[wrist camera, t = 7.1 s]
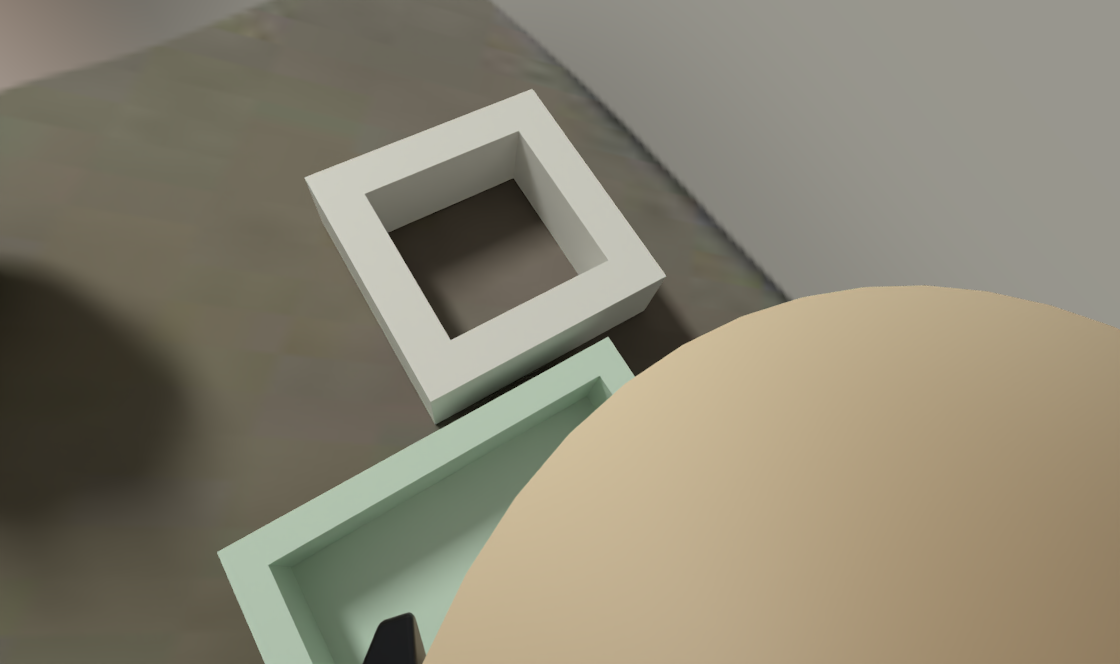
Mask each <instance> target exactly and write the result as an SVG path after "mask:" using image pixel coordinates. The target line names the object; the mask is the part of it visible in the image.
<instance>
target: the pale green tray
mask: <svg viewBox="0 0 1120 664" xmlns="http://www.w3.org/2000/svg"><path fill="white" fill-rule="evenodd" d="M634 377H635V376H634V375H633V373H632V372H631V370H630V369H629V367H628V366H627V364H626V363H625V361H624V360H623V358H622V357H621V355H620V354H619V352H618V351H617V349H616V348H615V346H614V345H613V343H612V342H611V340H610V339H609V337H607V338H605V339H603V340H601V341H599V342H598V343H596V344H594V345H592V346H590V347H588V348H587V349H585V350H583V351H581V352H579V353H578V354H576V355H574V356H572V357H570V358H569V359H567V360H565V361H563V362H561V363H559V364H558V365H556V366H554V367H552V368H550V369H549V370H547V371H545V372H543V373H541V374H539V375H538V376H536V377H534V378H532V379H530V380H529V381H527V382H525V383H523V384H521V385H520V386H518V387H516V388H514V389H512V390H510V391H509V392H507V393H505V394H503V395H501V396H500V397H498V398H496V399H494V400H492V401H490V402H489V403H487V404H485V405H483V406H481V407H480V408H478V409H476V410H474V411H472V412H471V413H469V414H467V415H465V416H463V417H461V418H460V419H458V420H456V421H454V422H452V423H451V424H449V425H447V426H445V427H443V428H442V429H440V430H438V431H436V432H434V433H432V434H431V435H429V436H427V437H425V438H423V439H422V440H420V441H418V442H416V443H414V444H412V445H411V446H409V447H407V448H405V449H403V450H402V451H400V452H398V453H396V454H394V455H393V456H391V457H389V458H387V459H385V460H383V461H382V462H380V463H378V464H376V465H374V466H373V467H371V468H369V469H367V470H365V471H363V472H362V473H360V474H358V475H356V476H354V477H353V478H351V479H349V480H347V481H345V482H344V483H342V484H340V485H338V486H336V487H334V488H333V489H331V490H329V491H327V492H325V493H324V494H322V495H320V496H318V497H316V498H314V499H313V500H311V501H309V502H307V503H305V504H304V505H302V506H300V507H298V508H296V509H295V510H293V511H291V512H289V513H287V514H285V515H284V516H282V517H280V518H278V519H276V520H275V521H273V522H271V523H269V524H267V525H265V526H264V527H262V528H260V529H258V530H256V531H255V532H253V533H251V534H249V535H247V536H246V537H244V538H242V539H240V540H238V541H236V542H235V543H233V544H231V545H229V546H227V547H226V548H224V549H222V550H220V551H218V552H217V553H218V556H219V558H220V560H221V563H222V565H223V567H224V570H225V572H226V574H227V577H228V579H229V581H230V584H231V586H232V588H233V591H234V593H235V595H236V598H237V600H238V602H239V604H240V607H241V609H242V611H243V614H244V616H245V618H246V621H247V623H248V625H249V628H250V630H251V632H252V635H253V637H254V639H255V642H256V644H257V646H258V649H259V651H260V653H261V656H262V658H263V660H264V663H265V664H362V663H363V661H364V659H365V656H366V654H367V651H368V649H369V646H370V644H371V641H372V639H373V637H374V634H375V632H376V629H377V627H378V625H379V624H380V623H381V622H382V621H383V620H385V619H389V618H392V617H395V616H398V615H401V614H404V613H408V612H410V613H412V614H413V615H414V616H415V618H416V622H417V625H418V628H419V632H420V635H421V639H422V642H423V646H424V649H425V653H426V655H427V653H428V651H429V649H430V647H431V645H432V643H433V641H434V639H435V637H436V635H437V633H438V630H439V628H440V626H441V624H442V622H443V620H444V618H445V616H446V614H447V612H448V610H449V608H450V606H451V604H452V602H453V600H454V598H455V595H456V593H457V591H458V589H459V587H460V585H461V583H462V581H463V579H464V577H465V575H466V573H467V572H468V570H469V568H470V567H471V565H472V564H473V562H474V561H475V559H476V558H477V556H478V555H479V553H480V551H481V550H482V548H483V547H484V545H485V544H486V542H487V541H488V539H489V537H490V536H491V534H492V533H493V531H494V530H495V528H496V527H497V525H498V524H499V522H500V520H501V519H502V517H503V516H504V514H505V513H506V511H507V510H508V508H509V507H510V505H511V503H512V502H513V500H514V499H515V497H516V496H517V495H518V494H519V492H520V491H521V490H522V489H523V488H524V487H525V485H526V484H527V483H528V482H529V481H530V479H531V478H532V477H533V476H534V475H535V474H536V472H537V471H538V470H539V469H540V468H541V467H542V465H543V464H544V463H545V462H546V461H547V459H548V458H549V457H550V456H551V455H552V454H553V452H554V451H555V450H556V449H557V448H558V446H559V445H560V444H561V443H562V442H563V441H564V439H565V438H566V437H567V436H568V435H569V434H570V433H571V432H572V431H573V430H574V429H575V428H576V427H577V426H579V425H580V424H581V423H582V422H583V421H584V420H585V419H586V418H587V417H589V416H590V415H591V414H592V413H593V412H594V411H595V410H596V409H597V408H599V407H600V406H601V405H602V404H603V403H604V402H605V401H606V400H607V399H609V398H610V397H611V396H612V395H613V394H614V393H615V392H616V391H617V390H619V389H620V388H621V387H622V386H623V385H624V384H625V383H627V382H628V381H630V380H631V379H633V378H634Z"/></svg>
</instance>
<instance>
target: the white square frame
mask: <svg viewBox="0 0 1120 664" xmlns="http://www.w3.org/2000/svg"><path fill="white" fill-rule="evenodd" d="M513 178H514V180H515V181H516V183H517V184H518V186H519V187H520V189H521V190H522V192H523V193H524V195H525V196H526V198H527V199H528V201H529V202H530V204H531V205H532V207H533V208H534V210H535V211H536V212H537V214H538V215H539V217H540V218H541V220H542V221H543V223H544V224H545V226H546V227H547V229H548V230H549V232H550V233H551V235H552V236H553V238H554V239H555V241H556V242H557V244H558V245H559V247H560V248H561V250H562V251H563V253H564V254H565V256H566V257H567V259H568V260H569V262H570V263H571V265H572V266H573V268H574V269H575V271H576V272H577V273H578V276H576V277H574V278H573V279H571V280H569V281H567V282H565V283H563V284H561V285H559V286H557V287H555V288H553V289H551V290H549V291H547V292H545V293H543V294H541V295H539V296H537V297H535V298H533V299H531V300H529V301H527V302H525V303H523V304H521V305H519V306H517V307H515V308H513V309H511V310H509V311H507V312H505V313H503V314H501V315H499V316H497V317H496V318H494V319H492V320H490V321H488V322H486V323H484V324H482V325H480V326H478V327H476V328H474V329H472V330H470V331H468V332H466V333H464V334H462V335H460V336H458V337H456V338H454V339H452V340H450V338H449V337H448V335H447V333H446V332H445V330H444V328H443V326H442V325H441V323H440V321H439V320H438V318H437V316H436V315H435V313H434V311H433V309H432V308H431V306H430V304H429V303H428V301H427V299H426V298H425V296H424V294H423V292H422V291H421V289H420V287H419V286H418V284H417V282H416V281H415V279H414V277H413V275H412V274H411V272H410V270H409V269H408V267H407V265H406V264H405V262H404V260H403V258H402V257H401V255H400V253H399V252H398V250H397V248H396V247H395V245H394V243H393V241H392V240H391V238H390V236H389V235H388V232H391V231H393V230H395V229H398V228H400V227H402V226H404V225H407V224H409V223H411V222H414V221H416V220H418V219H421V218H423V217H425V216H428V215H430V214H432V213H434V212H437V211H439V210H441V209H444V208H446V207H448V206H451V205H453V204H455V203H457V202H460V201H462V200H464V199H467V198H469V197H471V196H474V195H476V194H478V193H480V192H483V191H485V190H487V189H490V188H492V187H494V186H497V185H499V184H501V183H503V182H506V181H508V180H510V179H513ZM305 180H306V183H307V185H308V188H309V190H310V193H311V195H312V198H313V200H314V203H315V205H316V208H317V210H318V213H319V215H320V218H321V220H322V223H323V225H324V226H325V228H326V230H327V232H328V234H329V235H330V237H331V239H332V241H333V243H334V244H335V246H336V248H337V250H338V252H339V253H340V255H341V257H342V259H343V260H344V262H345V264H346V266H347V268H348V269H349V271H350V273H351V275H352V277H353V278H354V280H355V282H356V284H357V286H358V287H359V289H360V291H361V293H362V295H363V296H364V298H365V300H366V302H367V303H368V305H369V307H370V309H371V311H372V312H373V314H374V316H375V318H376V320H377V321H378V323H379V325H380V327H381V329H382V330H383V332H384V334H385V336H386V338H387V339H388V341H389V343H390V345H391V346H392V348H393V350H394V352H395V354H396V355H397V357H398V359H399V361H400V363H401V364H402V366H403V368H404V370H405V372H406V373H407V375H408V377H409V379H410V381H411V382H412V384H413V386H414V388H415V389H416V391H417V393H418V395H419V397H420V398H421V400H422V402H423V404H424V406H425V407H426V409H427V411H428V413H429V415H430V416H431V418H432V420H433V422H434V424H435V425H436V424H438V423H439V422H441V421H443V420H445V419H447V418H449V417H450V416H452V415H454V414H456V413H458V412H460V411H461V410H463V409H465V408H467V407H469V406H471V405H472V404H474V403H476V402H478V401H480V400H482V399H483V398H485V397H487V396H489V395H491V394H492V393H494V392H496V391H498V390H500V389H502V388H503V387H505V386H507V385H509V384H511V383H513V382H514V381H516V380H518V379H520V378H522V377H524V376H525V375H527V374H529V373H531V372H533V371H535V370H536V369H538V368H540V367H542V366H544V365H545V364H547V363H549V362H551V361H553V360H555V359H556V358H558V357H560V356H562V355H564V354H566V353H567V352H569V351H571V350H573V349H575V348H577V347H578V346H580V345H582V344H584V343H586V342H587V341H589V340H591V339H593V338H595V337H597V336H598V335H600V334H602V333H604V332H606V331H608V330H609V329H611V328H613V327H615V326H617V325H619V324H620V323H622V322H624V321H626V320H628V319H630V318H631V317H633V316H635V315H637V314H639V313H640V312H642V311H644V310H645V309H646V307H647V306H648V304H649V302H650V301H651V299H652V298H653V296H654V295H655V293H656V291H657V290H658V288H659V287H660V285H661V284H662V282H663V281H664V279H665V277H666V275H665V274H664V272H663V271H662V269H661V268H660V267H659V265H658V264H657V262H656V261H655V260H654V258H653V257H652V255H651V254H650V253H649V251H648V250H647V248H646V247H645V246H644V244H643V243H642V241H641V240H640V239H639V237H638V236H637V234H636V233H635V232H634V230H633V229H632V227H631V226H630V225H629V223H628V222H627V221H626V219H625V218H624V216H623V215H622V214H621V212H620V211H619V209H618V208H617V207H616V205H615V204H614V202H613V201H612V200H611V198H610V197H609V195H608V194H607V193H606V191H605V190H604V188H603V187H602V186H601V184H600V183H599V181H598V180H597V179H596V177H595V176H594V174H593V173H592V172H591V170H590V169H589V167H588V166H587V165H586V163H585V162H584V160H583V159H582V158H581V156H580V155H579V153H578V152H577V151H576V149H575V148H574V146H573V145H572V144H571V142H570V141H569V139H568V138H567V137H566V135H565V134H564V132H563V131H562V130H561V128H560V127H559V126H558V124H557V123H556V121H555V120H554V119H553V117H552V116H551V114H550V113H549V112H548V110H547V109H546V107H545V106H544V105H543V103H542V102H541V100H540V99H539V98H538V96H537V95H536V93H535V92H534V91H533V89H531V90H528V91H526V92H523V93H520V94H518V95H515V96H513V97H510V98H508V99H505V100H502V101H500V102H497V103H495V104H492V105H490V106H487V107H484V108H482V109H479V110H477V111H474V112H472V113H469V114H467V115H464V116H461V117H459V118H456V119H454V120H451V121H449V122H446V123H443V124H441V125H438V126H436V127H433V128H431V129H428V130H425V131H423V132H420V133H418V134H415V135H413V136H410V137H407V138H405V139H402V140H400V141H397V142H395V143H392V144H389V145H387V146H384V147H382V148H379V149H377V150H374V151H371V152H369V153H366V154H364V155H361V156H359V157H356V158H353V159H351V160H348V161H346V162H343V163H341V164H338V165H335V166H333V167H330V168H328V169H325V170H323V171H320V172H317V173H315V174H312V175H310V176H307V177H305Z"/></svg>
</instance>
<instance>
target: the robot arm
mask: <svg viewBox="0 0 1120 664" xmlns="http://www.w3.org/2000/svg"><path fill="white" fill-rule="evenodd" d="M425 657H426V653H425V649H424V646H423V642H422V639H421V635H420V632H419V628H418V625H417V622H416V618H415V616H414V615H413V614H412V613H410V612H408V613H404V614H401V615H398V616H395V617H392V618H389V619H385V620H383V621H382V622H381V623H380V624H379V625H378V627H377V629H376V632H375V634H374V637H373V639H372V641H371V644H370V646H369V649H368V651H367V654H366V656H365V659H364V661H363V663H362V664H422V663H423V661H424V659H425Z"/></svg>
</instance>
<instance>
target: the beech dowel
mask: <svg viewBox="0 0 1120 664" xmlns="http://www.w3.org/2000/svg"><path fill="white" fill-rule="evenodd" d="M422 664H1120V330H1119V329H1117V328H1115V327H1113V326H1110V325H1107V324H1104V323H1101V322H1098V321H1095V320H1092V319H1089V318H1086V317H1083V316H1080V315H1077V314H1074V313H1071V312H1068V311H1065V310H1062V309H1059V308H1057V307H1054V306H1051V305H1047V304H1042V303H1037V302H1032V301H1028V300H1024V299H1019V298H1015V297H1010V296H1006V295H1000V294H997V293H992V292H987V291H976V290H967V289H957V288H946V287H936V286H926V285H923V286H888V287H862V288H856V289H850V290H844V291H838V292H832V293H826V294H820V295H814V296H808V297H803V298H799V299H796V300H793V301H789V302H786V303H783V304H780V305H777V306H773V307H770V308H767V309H764V310H761V311H757V312H754V313H751V314H748V315H745V316H742V317H740V318H738V319H736V320H733V321H731V322H729V323H727V324H725V325H723V326H721V327H719V328H717V329H715V330H713V331H711V332H708V333H706V334H704V335H702V336H700V337H698V338H696V339H694V340H692V341H690V342H688V343H686V344H684V345H682V346H680V347H679V348H677V349H676V350H674V351H673V352H671V353H670V354H668V355H667V356H665V357H664V358H663V359H661V360H660V361H658V362H657V363H655V364H654V365H652V366H651V367H649V368H648V369H646V370H645V371H643V372H642V373H640V374H639V375H637V376H636V377H634V378H633V379H631V380H630V381H628V382H627V383H625V384H624V385H623V386H622V387H621V388H620V389H619V390H617V391H616V392H615V393H614V394H613V395H612V396H611V397H610V398H609V399H607V400H606V401H605V402H604V403H603V404H602V405H601V406H600V407H599V408H597V409H596V410H595V411H594V412H593V413H592V414H591V415H590V416H589V417H587V418H586V419H585V420H584V421H583V422H582V423H581V424H580V425H579V426H577V427H576V428H575V429H574V430H573V431H572V432H571V433H570V434H569V435H568V436H567V437H566V438H565V439H564V441H563V442H562V443H561V444H560V445H559V446H558V448H557V449H556V450H555V451H554V452H553V454H552V455H551V456H550V457H549V458H548V459H547V461H546V462H545V463H544V464H543V465H542V467H541V468H540V469H539V470H538V471H537V472H536V474H535V475H534V476H533V477H532V478H531V479H530V481H529V482H528V483H527V484H526V485H525V487H524V488H523V489H522V490H521V491H520V492H519V494H518V495H517V496H516V497H515V499H514V500H513V502H512V503H511V505H510V507H509V508H508V510H507V511H506V513H505V514H504V516H503V517H502V519H501V520H500V522H499V524H498V525H497V527H496V528H495V530H494V531H493V533H492V534H491V536H490V537H489V539H488V541H487V542H486V544H485V545H484V547H483V548H482V550H481V551H480V553H479V555H478V556H477V558H476V559H475V561H474V562H473V564H472V565H471V567H470V568H469V570H468V572H467V573H466V575H465V577H464V579H463V581H462V583H461V585H460V587H459V589H458V591H457V593H456V595H455V598H454V600H453V602H452V604H451V606H450V608H449V610H448V612H447V614H446V616H445V618H444V620H443V622H442V624H441V626H440V628H439V630H438V633H437V635H436V637H435V639H434V641H433V643H432V645H431V647H430V649H429V651H428V653H427V655H426V657H425V659H424V661H423V663H422Z"/></svg>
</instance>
